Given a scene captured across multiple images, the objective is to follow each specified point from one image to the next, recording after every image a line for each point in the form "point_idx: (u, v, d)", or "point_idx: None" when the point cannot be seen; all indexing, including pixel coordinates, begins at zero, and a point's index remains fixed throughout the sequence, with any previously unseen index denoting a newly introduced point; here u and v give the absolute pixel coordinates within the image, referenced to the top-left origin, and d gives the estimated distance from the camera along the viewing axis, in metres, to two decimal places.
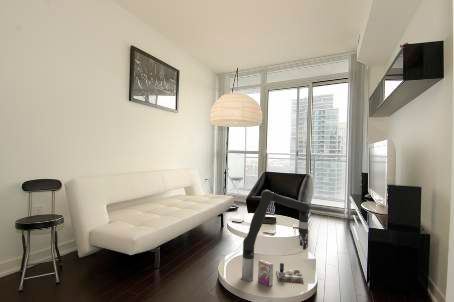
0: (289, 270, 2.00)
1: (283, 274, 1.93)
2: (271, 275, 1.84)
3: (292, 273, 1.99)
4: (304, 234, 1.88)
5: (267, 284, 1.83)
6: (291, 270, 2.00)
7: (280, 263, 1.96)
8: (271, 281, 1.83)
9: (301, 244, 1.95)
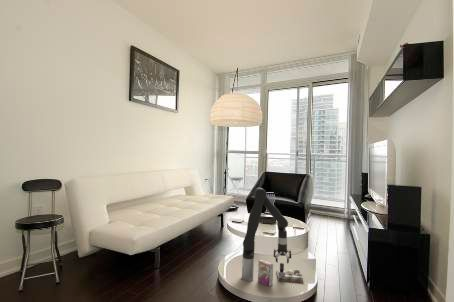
0: (289, 270, 2.00)
1: (283, 274, 1.93)
2: (271, 275, 1.84)
3: (292, 273, 1.99)
4: (286, 249, 1.95)
5: (267, 284, 1.83)
6: (291, 270, 2.00)
7: (280, 263, 1.96)
8: (271, 281, 1.83)
9: None
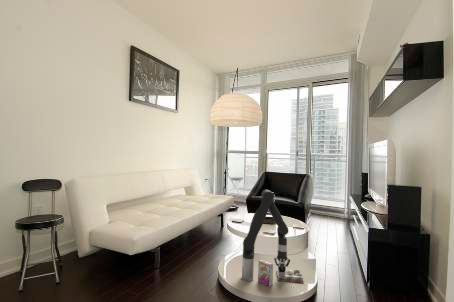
0: (289, 270, 2.00)
1: (283, 274, 1.93)
2: (271, 275, 1.84)
3: (292, 273, 1.99)
4: (286, 256, 1.95)
5: (267, 284, 1.83)
6: (291, 270, 2.00)
7: None
8: (271, 281, 1.83)
9: (279, 269, 1.95)
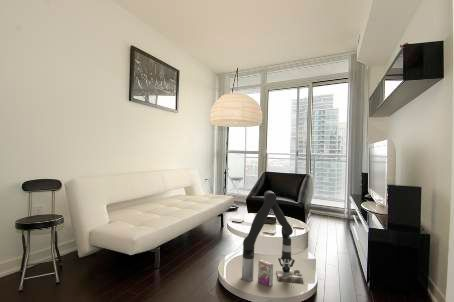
0: None
1: (287, 274, 1.92)
2: (271, 275, 1.84)
3: (292, 273, 1.99)
4: None
5: (267, 284, 1.83)
6: (291, 270, 2.00)
7: None
8: (271, 281, 1.83)
9: None
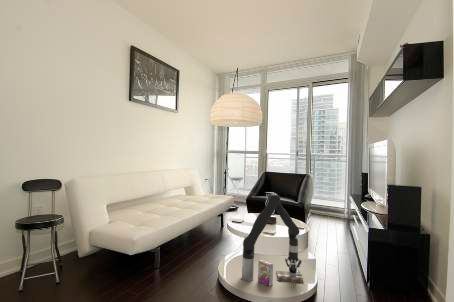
0: None
1: (294, 275, 1.92)
2: (271, 275, 1.84)
3: None
4: (297, 256, 1.94)
5: (267, 284, 1.83)
6: None
7: None
8: (271, 281, 1.83)
9: (290, 270, 1.94)
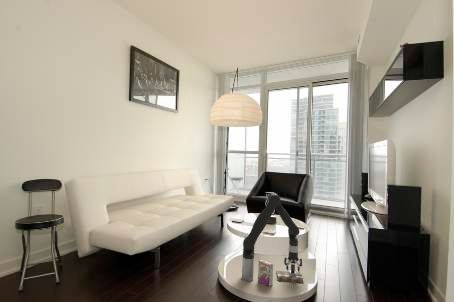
0: None
1: (294, 275, 1.92)
2: (271, 275, 1.84)
3: None
4: (297, 256, 1.94)
5: (267, 284, 1.83)
6: None
7: (291, 264, 1.95)
8: (271, 281, 1.83)
9: None
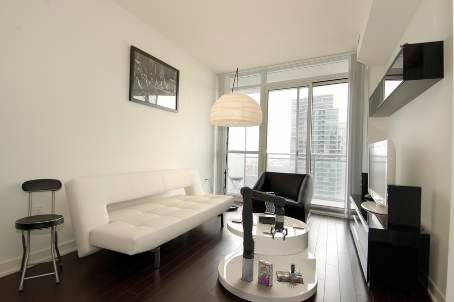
0: None
1: (294, 275, 1.92)
2: (271, 275, 1.84)
3: None
4: (283, 226, 2.00)
5: (267, 284, 1.83)
6: None
7: (291, 264, 1.95)
8: (271, 281, 1.83)
9: (273, 237, 2.00)
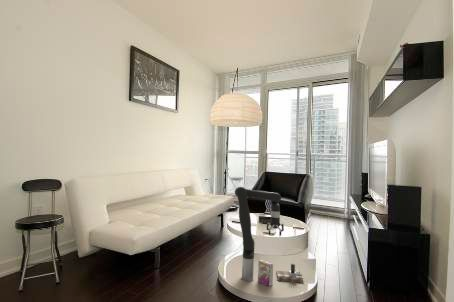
0: None
1: (294, 275, 1.92)
2: (271, 275, 1.84)
3: None
4: (279, 222, 2.01)
5: (267, 284, 1.83)
6: None
7: (291, 264, 1.95)
8: (271, 281, 1.83)
9: None
